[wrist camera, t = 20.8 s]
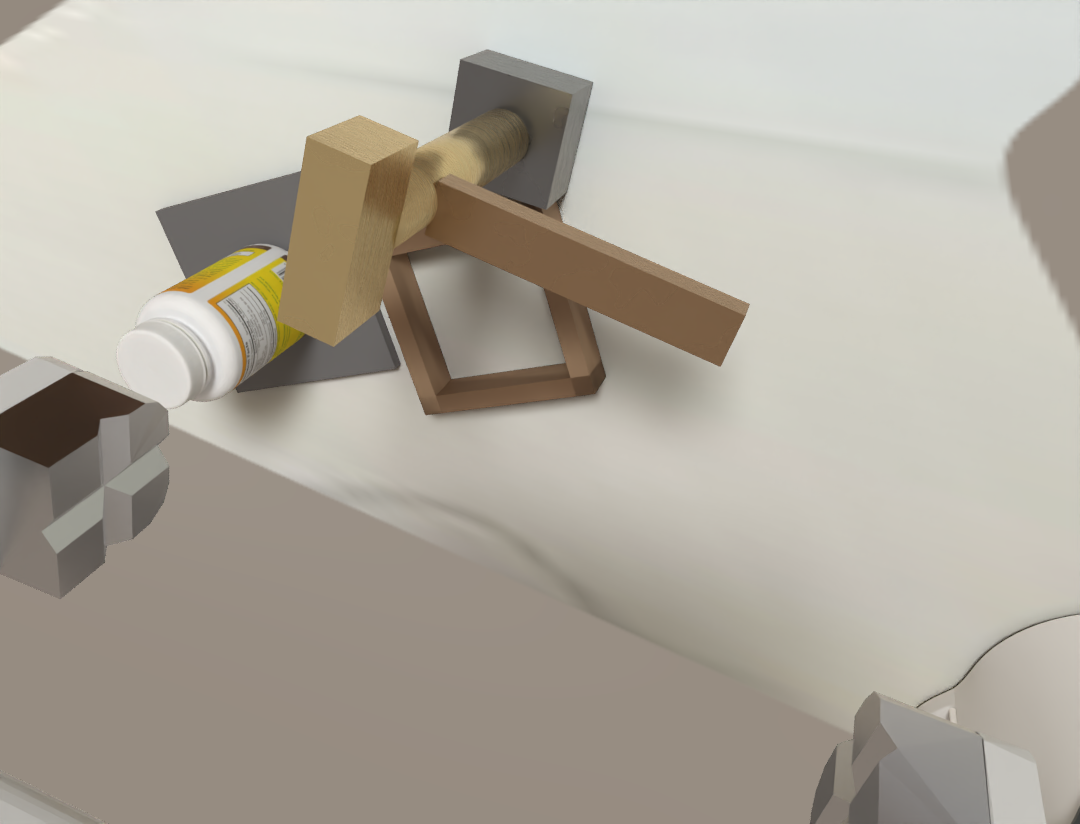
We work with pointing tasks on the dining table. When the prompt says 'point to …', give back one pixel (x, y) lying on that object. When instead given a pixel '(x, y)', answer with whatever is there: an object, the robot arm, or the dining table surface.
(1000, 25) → the dining table surface
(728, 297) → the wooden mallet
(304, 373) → the rubber mat
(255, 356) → the supplement bottle
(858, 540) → the dining table surface
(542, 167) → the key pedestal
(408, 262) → the cup collar
